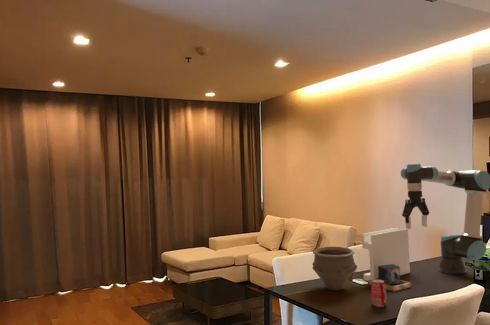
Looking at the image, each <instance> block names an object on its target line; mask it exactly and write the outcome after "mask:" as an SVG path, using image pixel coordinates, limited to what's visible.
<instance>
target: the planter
mask: <svg viewBox="0 0 490 325" xmlns="http://www.w3.org/2000/svg"><path fill="white" fill-rule="evenodd" d="M312 253H313V255H314V259H313V262H312V264H311V265H312V270H313V271H314V272H315V274H316V275H317V276H318V277H319V279H320V280H321V281H322V283H323V284H324V286H325V287H326V289H327V290H329V291H341V290H343V289H344V287H345V285H346V284H347V282H348V280H349V279H350V277H351V276H352V275H353V274H354V273H355V271H356V270H357V268H358V265H357V264H356V263H355V259H354V254H355V252H354V250H352V249H350V248H347V247H344V246H343V247H342V246H324V247H318V248H316V249H314V250H313V251H312Z"/></svg>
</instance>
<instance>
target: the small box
mask: <svg viewBox="0 0 490 325" xmlns="http://www.w3.org/2000/svg"><path fill="white" fill-rule="evenodd" d="M378 277H379V279H380V280H384V283H385V284H387V285H390V286H393V285H400V280H401V275H400V267H399V266H396V265H394V264H391V265H382V266H378Z"/></svg>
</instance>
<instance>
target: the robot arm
mask: <svg viewBox="0 0 490 325" xmlns="http://www.w3.org/2000/svg"><path fill="white" fill-rule="evenodd" d="M400 176H401V178H402V179H403V180H407V190H408V191H407V197H408V198H409V199H405V201H404V202H405V204H404V206H403V211H402V214H401V216H402V217H403V218H405V219H404V220H405V229H408V230H411V229H412V224H411V223H412V221H411V217H410V216H411V214H412V212H413V210H414V209H415V208H417V209H418V210H419V211H420V213H421V227H425V228H427V227H428V224H427V222H428V221H427V220H428V216H429V214H430V211H429V209H428V205H427V203H426V198H424V197H423V191H422V188H423V186H422V183H423V182H429V183H437V184H443V185H445V186H448V187H453V188H458V189H462V190H464V192H465V193H466V201H465V211H464V212H465V213H464V214H465V215H464V223H463V224H464V225H463V232H462V233H460V234H446V235H445V234H444V235H441V237H440V251H441V258H440V263H439V267H438V268H439V269H438V271H439V272H440V273H441V272H442V273H444V274H451V275H461V274H466V272H467V269H466V266H465V263H464V261H463V258H465V259H468V260H477V261H478V260H480V259H482V258H483V257H484V256H485V255H486V253H487V246H486V242H484V241H483V237H482V236H481V235H480V234H481V224H482V212H483V211H482V210H483V199H484V198H483V197H484V195H485V194H487V190H489V189H490V173H488V171H486V170H482V169H473V170H458V171H457V170H454V171H452V170H448V171H442V170H438V168H437V167H436V166H431V165H430V166H421V164H420V163H408V164H407V165H406V167H403V168H402V169H401V170H400Z"/></svg>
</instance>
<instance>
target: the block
mask: <svg viewBox="0 0 490 325" xmlns="http://www.w3.org/2000/svg"><path fill="white" fill-rule="evenodd" d="M361 245H362V246H361V247H362V249H366V250H368V251H369V266H370V268H369V269H370V272H366V273H363V281H366V282H369V280H371V279H376V278H379V277H378V266H382V265H391V264H394V265H396V266H399V267H400V276H404V275H406V274H410V273H411V267H410V265H411V264H410V242H409V229H406V228H402V229H399V227H394V228H387V229H382V230H376V231H370V232H365V233H364V232H363V233H361Z"/></svg>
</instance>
